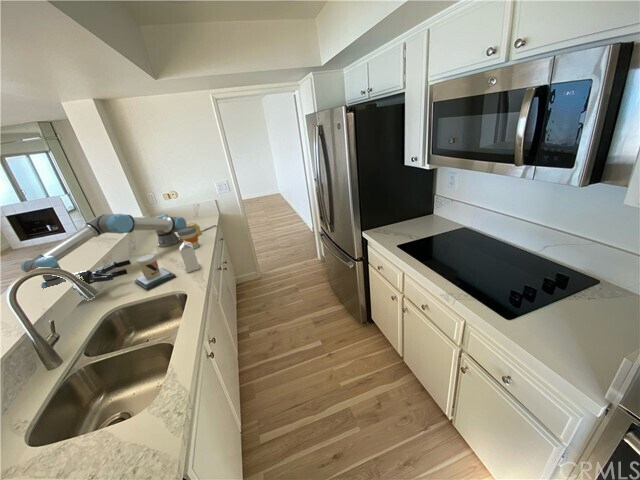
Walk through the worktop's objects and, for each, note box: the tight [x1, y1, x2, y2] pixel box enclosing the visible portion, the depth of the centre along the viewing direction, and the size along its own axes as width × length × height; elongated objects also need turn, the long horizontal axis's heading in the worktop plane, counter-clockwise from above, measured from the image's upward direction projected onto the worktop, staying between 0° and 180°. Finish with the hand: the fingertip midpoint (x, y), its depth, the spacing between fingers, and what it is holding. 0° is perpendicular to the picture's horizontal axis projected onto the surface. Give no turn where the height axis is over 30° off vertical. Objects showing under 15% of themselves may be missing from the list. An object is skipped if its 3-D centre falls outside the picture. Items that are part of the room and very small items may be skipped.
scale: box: [134, 267, 177, 292], centre depth 157 cm, size 16×18×3 cm
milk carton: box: [179, 241, 201, 273], centre depth 161 cm, size 7×7×19 cm
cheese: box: [186, 222, 203, 236], centre depth 221 cm, size 10×11×10 cm
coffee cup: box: [136, 253, 160, 279], centre depth 154 cm, size 9×9×12 cm
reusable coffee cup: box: [176, 226, 199, 250], centre depth 196 cm, size 13×13×15 cm
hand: (128, 266), depth 149 cm, fingers open, 13 cm apart
